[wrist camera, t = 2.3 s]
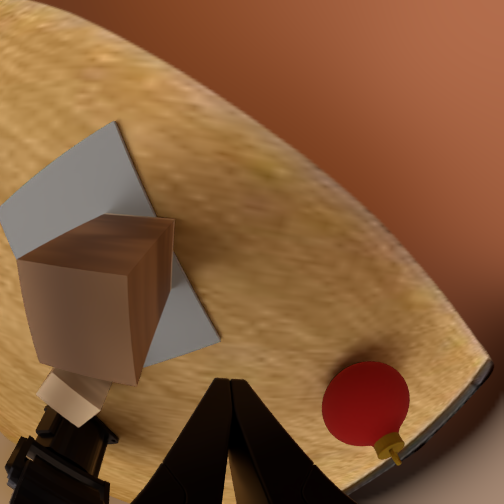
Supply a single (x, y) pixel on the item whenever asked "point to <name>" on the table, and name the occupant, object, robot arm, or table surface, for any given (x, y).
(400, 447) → the christmas ornament
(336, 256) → the table surface
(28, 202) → the mat
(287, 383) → the table surface
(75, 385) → the maple block
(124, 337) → the walnut block
